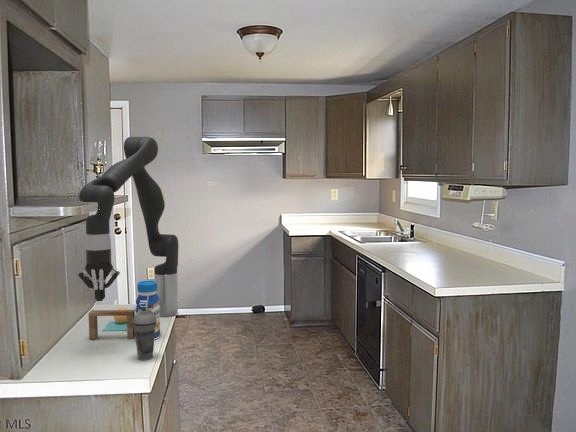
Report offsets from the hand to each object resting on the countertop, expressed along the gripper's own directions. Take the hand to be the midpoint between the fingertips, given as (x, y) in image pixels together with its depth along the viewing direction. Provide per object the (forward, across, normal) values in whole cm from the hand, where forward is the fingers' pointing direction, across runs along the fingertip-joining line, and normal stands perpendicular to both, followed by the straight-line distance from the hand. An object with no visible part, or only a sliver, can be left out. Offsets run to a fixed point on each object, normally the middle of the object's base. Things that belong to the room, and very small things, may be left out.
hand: (100, 300), depth 156 cm
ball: (+14, +1, -30) cm, 33 cm away
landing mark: (+17, 0, -27) cm, 32 cm away
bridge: (+17, 0, -13) cm, 21 cm away
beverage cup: (+17, -15, +6) cm, 24 cm away
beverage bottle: (+17, -12, -13) cm, 25 cm away
